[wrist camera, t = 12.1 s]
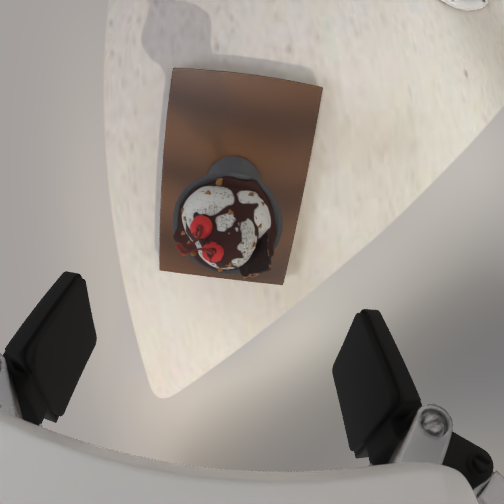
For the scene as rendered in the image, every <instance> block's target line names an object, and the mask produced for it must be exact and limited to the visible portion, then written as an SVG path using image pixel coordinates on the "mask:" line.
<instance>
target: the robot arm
mask: <svg viewBox="0 0 504 504" xmlns="http://www.w3.org/2000/svg"><path fill="white" fill-rule="evenodd" d="M441 1H443V2H444V3H446V4H448V5H450V6H452V7H454V8H457V9H460V10H464V11H473V10H478V9H480V8H483V7H484V6H485V5H486V4H487V3H488V1H489V0H441ZM96 339H97V337H96V332H95V328H94V323H93V318H92V313H91V308H90V303H89V298H88V292H87V287H86V281H85V280H84V279H82V277H81V275H80V274H78V273H72V272H67V271H66V272H64V273H63V274H62V275H61V276H60V278H58V280H57V281H56V282H55V283H54V284H53V286H52V287H51V288H50V289H49V291H48V292H47V293H46V294H45V296H44V297H43V298H42V299H41V301H40V302H39V303H38V304H37V306H36V307H35V308H34V310H33V311H32V312H31V313H30V315H29V316H28V317H27V319H26V320H25V321H24V323H23V324H22V326H21V327H20V328H19V330H18V331H17V332H16V334H15V335H14V337H13V338H12V339H11V341H10V342H9V344H8V345H7V347H6V348H5V353H4V354H3V355H2V354H1V353H0V504H504V477H503V476H502V475H501V474H500V473H499V472H498V471H495V472H493V461H492V459H491V457H490V455H489V454H488V453H487V452H486V451H485V450H483V449H482V448H480V447H478V446H476V445H475V444H473V443H471V442H470V441H468V440H466V439H464V438H462V437H461V436H459V435H457V434H456V433H454V432H452V431H453V422H452V419H451V417H450V415H449V414H448V413H447V411H446V410H445V409H443V408H442V407H440V406H437V405H435V404H427V405H424V406H422V404H421V401H420V400H421V399H420V397H419V395H418V392H417V390H416V387H415V385H414V383H413V381H412V378H411V376H410V374H409V372H408V370H407V367H406V365H405V363H404V361H403V358H402V356H401V354H400V352H399V350H398V348H397V346H396V344H395V342H394V339H393V337H392V335H391V333H390V331H389V329H388V327H387V325H386V323H385V321H384V319H383V317H382V315H381V313H380V312H379V311H378V310H368V309H363V310H362V311H361V312H360V313H357V314H356V315H355V317H354V320H353V322H352V325H351V327H350V329H349V332H348V334H347V336H346V339H345V341H344V343H343V346H342V347H341V350H340V352H339V354H338V356H337V358H336V360H335V363H334V365H333V370H332V371H333V372H332V373H333V377H334V382H335V386H336V389H337V394H338V399H339V403H340V407H341V411H342V415H343V420H344V425H345V429H346V434H347V438H348V443H349V447H350V450H351V451H354V453H355V457H356V458H364V457H369V461H370V465H369V466H367V467H358V468H348V469H336V470H320V471H298V472H297V471H296V472H266V471H241V470H227V469H216V468H206V467H198V466H190V465H183V464H177V463H171V462H165V461H159V460H154V459H149V458H144V457H140V456H135V455H130V454H126V453H122V452H118V451H114V450H111V449H107V448H103V447H100V446H96V445H93V444H90V443H86V442H83V441H80V440H77V439H74V438H71V437H68V436H65V435H62V434H59V433H56V432H53V431H51V430H48V429H45V428H43V427H42V425H41V424H42V421H43V419H44V418H45V419H47V420H50V421H53V422H55V423H56V422H57V420H58V417H59V416H62V415H63V414H64V412H65V410H66V408H67V405H68V403H69V401H70V398H71V396H72V394H73V392H74V389H75V387H76V385H77V383H78V381H79V378H80V376H81V374H82V372H83V370H84V368H85V365H86V363H87V361H88V359H89V357H90V355H91V353H92V351H93V349H94V347H95V345H96Z"/></svg>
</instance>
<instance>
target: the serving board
mask: <svg viewBox="0 0 504 504" xmlns="http://www.w3.org/2000/svg"><path fill="white" fill-rule="evenodd" d="M322 90H323V88H322V87H319V86H315V85H310V84H305V83H300V82H295V81H290V80H284V79H278V78H272V77H266V76H259V75H252V74H244V73H236V72H226V71H216V70H203V69H186V68H173V71H172V79H171V86H170V94H169V102H168V111H167V121H166V131H165V142H164V155H163V169H162V186H161V208H160V256H159V268H160V270H161V271H169V272H176V273H184V274H192V275H200V276H208V277H216V278H224V279H233V280H241V281H250V282H259V283H268V284H277V285H283V283H284V278H285V274H286V270H287V265H288V261H289V256H290V252H291V247H292V243H293V238H294V234H295V229H296V224H297V220H298V215H299V210H300V205H301V201H302V196H303V191H304V186H305V181H306V176H307V171H308V166H309V161H310V156H311V150H312V145H313V140H314V134H315V129H316V124H317V118H318V113H319V107H320V101H321V95H322ZM233 156H236V157H241V158H244V159H246V160H248V161H250V162H251V163H252V164H253V165H255V167H256V168H257V170H258V172H259V174H260V177H261V181H262V182H263V183H265V184H266V185H267V186H268V188H269V189H270V190H271V191H272V192H273V194H274V196H275V198H276V199H277V202H278V204H279V206H280V209H281V213H282V219H283V231H282V235H281V238H280V241H279V243H278V245H277V247H276V248H275V250H274V255H273V256H272V257H271V265H272V268H271V269H270V271H267V272H264V273H261V274H259V275H257V276H254V277H251V278H247V279H244V278H243V277H242V275H241V273H239V274H221V273H216V272H213V271H210V270H208V269H206V268H204V267H202V266H200V265H199V264H197V263H196V262H194V261H193V260H191V259H190V258H189V257H187V256H186V255H185V256H182V255H181V254H180V253H179V251H178V250H177V249H176V248H175V246H176V244H177V242H176V241H175V240H174V238H173V235H174V232H173V226H172V220H173V212H174V207H175V204H176V202H177V200H178V197H179V196H180V194H181V193H182V191H183V190H184V189H185V188H186V187H187V186H188V185H189V184H190V183H192V182H193V181H195V180H197V179H199V178H201V177H203V176H206V175H207V174H208V172H209V170H210V168H211V167H212V166H213V165H214V164H215V163H216V162H217V161H219V160H221V159H223V158H226V157H233Z"/></svg>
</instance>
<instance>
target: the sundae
mask: <svg viewBox="0 0 504 504" xmlns="http://www.w3.org/2000/svg"><path fill="white" fill-rule="evenodd" d="M172 226H173V232H174V235H173V238H174V240H175V241H176V242H177V244H176V246H175V248H176V249H177V250H178V251H179V253H180V254H181V255H182V256H185V255H186V256H187V257H189V258H190V259H191V260H193V261H194V262H196V263H197V264H199V265H200V266H202V267H204V268H206V269H208V270H210V271H213V272H216V273H221V274H239V273H241V275H242V277H243V278H244V279H247V278H251V277H254V276H257V275H259V274H261V273H264V272H267V271H270V269H271V268H272V265H271V257H272V256H273V255H274V250H275V248H276V247H277V245H278V243H279V241H280V238H281V235H282V231H283V219H282V213H281V209H280V206H279V204H278V202H277V199H276V198H275V196H274V194H273V192H272V191H271V190H270V189H269V188H268V186H267V185H266V184H265V183H263V182H262V181H261V177H260V174H259V172H258V170H257V168H256V167H255V165H253V164H252V163H251V162H250V161H248V160H246V159H244V158H241V157H236V156H233V157H226V158H223V159H221V160H219V161H217V162H216V163H215V164H214V165H213V166H212V167H211V168H210V170H209V172H208V174H207V175H206V176H203V177H201V178H199V179H197V180H195V181H193V182H192V183H190V184H189V185H188V186H187V187H186V188H185V189H184V190H183V191H182V193H181V194H180V196H179V197H178V200H177V202H176V204H175V207H174V212H173V220H172Z"/></svg>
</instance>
